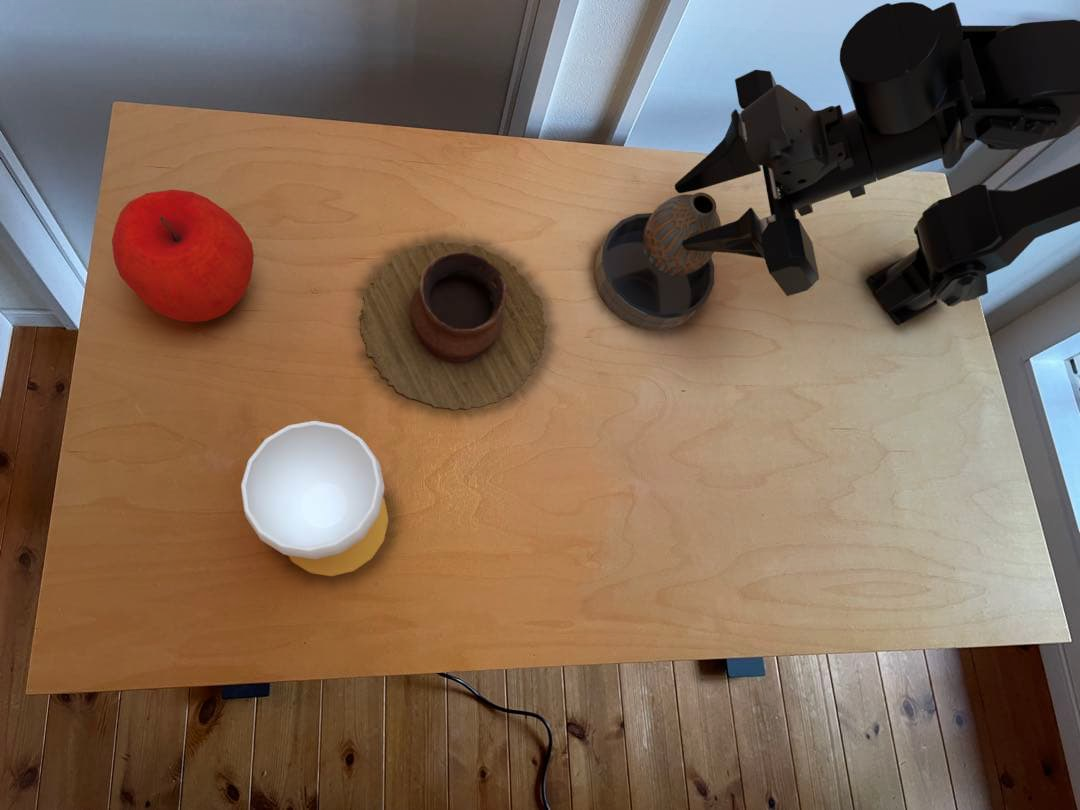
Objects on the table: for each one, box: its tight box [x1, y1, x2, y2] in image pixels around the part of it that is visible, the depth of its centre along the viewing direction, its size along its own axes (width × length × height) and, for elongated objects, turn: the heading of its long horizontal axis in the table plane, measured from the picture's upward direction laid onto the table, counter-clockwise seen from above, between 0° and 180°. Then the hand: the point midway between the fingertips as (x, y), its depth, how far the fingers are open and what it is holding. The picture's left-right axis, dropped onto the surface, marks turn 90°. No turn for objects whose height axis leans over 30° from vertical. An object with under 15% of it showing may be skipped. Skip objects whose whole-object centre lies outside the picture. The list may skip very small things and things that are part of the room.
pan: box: [594, 212, 715, 331], centre depth 70 cm, size 12×12×3 cm
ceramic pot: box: [358, 241, 548, 411], centre depth 62 cm, size 18×18×7 cm
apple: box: [111, 189, 254, 323], centre depth 56 cm, size 10×10×12 cm
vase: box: [643, 191, 722, 276], centre depth 63 cm, size 7×7×9 cm
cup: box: [240, 420, 389, 577], centre depth 50 cm, size 9×9×16 cm
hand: (679, 216), depth 61 cm, fingers closed on vase, 5 cm apart
